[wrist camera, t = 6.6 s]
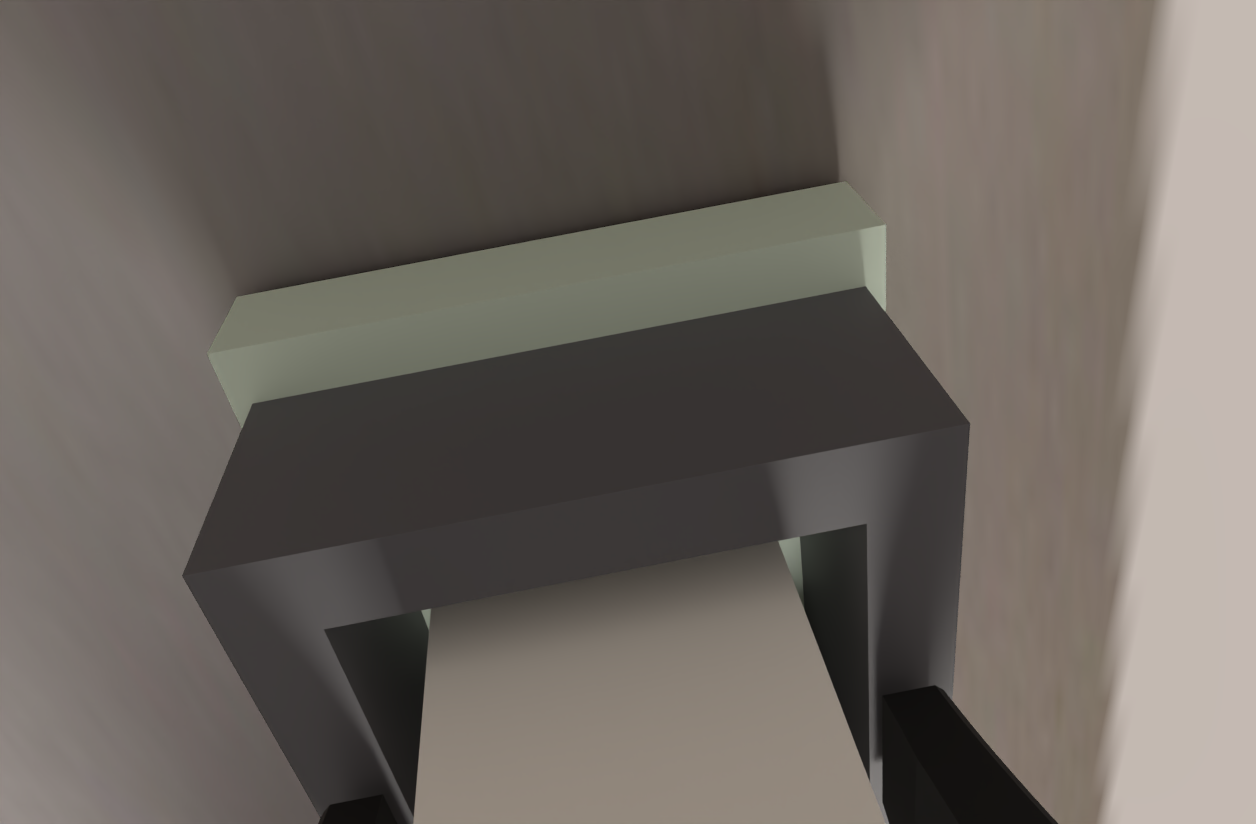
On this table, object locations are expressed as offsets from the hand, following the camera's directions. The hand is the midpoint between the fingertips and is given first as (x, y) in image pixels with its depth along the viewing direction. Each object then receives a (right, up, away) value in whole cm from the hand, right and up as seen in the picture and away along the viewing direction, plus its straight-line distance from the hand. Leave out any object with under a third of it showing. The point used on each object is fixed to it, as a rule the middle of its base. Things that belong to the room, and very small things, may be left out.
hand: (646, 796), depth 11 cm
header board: (0, -1, +7) cm, 7 cm away
